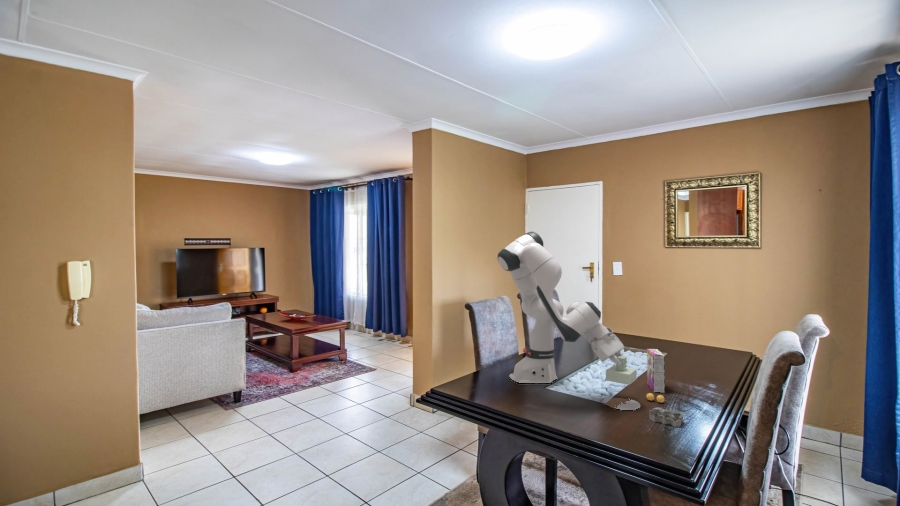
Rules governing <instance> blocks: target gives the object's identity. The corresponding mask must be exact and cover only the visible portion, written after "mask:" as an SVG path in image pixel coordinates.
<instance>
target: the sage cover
mask: <svg viewBox="0 0 900 506" xmlns="http://www.w3.org/2000/svg"><path fill="white" fill-rule="evenodd" d="M616 358H617V359H618V360H620V361H621V362H622V363H623V364H622V365H621V366H617V365H616V364H615V365H612V366H610V367H609V368H607V369H606V370H605V381H607V382H612V383H617V384H622V385H628V386H630V385H631V384H632V383H634V382H635V381H637V369H636V368H630V367H627V356H623V357H622V356H618V357H616Z"/></svg>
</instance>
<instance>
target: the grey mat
mask: <svg viewBox="0 0 900 506" xmlns="http://www.w3.org/2000/svg"><path fill="white" fill-rule="evenodd" d="M612 397H613V396H611V397H610V396H609V397H605V398H604V399H603V400H602V404H603V403H606V402H608V401H609V400H610V399H611V398H612ZM628 399H629V400H630V399H631V398H628ZM625 403H626V404H623V403H622V402H621V405H620V404H619V405H618V406H617V408H616V407H614V408H616V409H620V410H619V411H622V410H633V411H637V410H636V409H638V408H639V409H640V408H641V404H640V403H639V402H638V401H636V400H634V399H631V400H630V401H626V402H625ZM615 406H616V405H615ZM616 409H615V410H616ZM639 409H638V410H639Z"/></svg>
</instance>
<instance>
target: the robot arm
mask: <svg viewBox="0 0 900 506" xmlns="http://www.w3.org/2000/svg"><path fill="white" fill-rule="evenodd" d="M497 261H498V264H499V265H500V267H501V268H502V269H503V270H504V271H507V272H509V273H510V276H511V278H512V280H513V283H515V285H516V288H517V289H518V291H519V294H520V298H521V305H520V307H521V310H522V312H523V313H524V314H525V315H527V316H528V317H530V318H533V319H535V323H534V326H533V328H532V329H531V330H530V332H529V348H528V349H527V348H525V347H524V348H523V349H522V352H523V353H524V354H525V355H526V356H525V357H523V358H521V360H520V361H518V362H517V363H516V364H515V366H514V369H513V373H510V374H509V377H510V378H511V379H512V380H514V381H516V382H519V383H551V382H552V381H553V380H555V379H557V380H558V376H557V371H556V365H555V360H556V359H555V358H556V353H555V350H556V349H555V346H554V344H555V343H554V342H555V337H554V336H555V330H556V331H557V334H558V335H559V337H560V338H561V339H562V340H563V341H564V342H567V343H575V342H577V341H578V339H580V338H581V337H582V335H583V337H584V338H585V339H586V341H587V342H588V343H589V344H590V345H591V350H592V351H593V352H594V354H595V355H596V356H597V357H598V358H599V360H600V361H602V362H605V361H607V360H608V359H609V360H610V361H611V362H612V363H614V364H615V366H616V365H617V366H621V365H622V364H623V363H622V362H621V361H620V360H618V359H617V358H616V357H618V356H622V357H624V356H623V353H622V351H623V350H624V349H625V345H624V344H623V342H622V341H621V340H620V338H619V337H618V336H617V335H616V334H614V330H613V329H611V327H607V326H605V325H603V324H602V323H601V322H600V321H601V317H602V312H601V311H600V309H599V308H598V307H597V306H596V305H595V304H594V303H593V302H592V301H584V302H581V301H575V302H572V303H571V304H570V305H569V306H568V307H567V308H566V311H565V312H566V314H565V316H563V315H564V306H563V304H562V303H561V302H560V301H558V300H557V299H554V298H553V293H554V291H555V289H556V287H557V285H558V284H559V282H560V280H561V278H562V273H563V270H562V267H561V265H560V263H559V262H558V261H557V259H556V258H555V257H554V256H553V255H552V254H551V253H550V251H548V250H547V249H546V247H544V241H543V239H542V237H541V236H540V234H538V233H537V232H535V231H528V232H526V233H524V235H521V236H519V237H517V238H516V239H514V240H513V241H512V242H511V243H509V244H508V245H507V246H505V247H504V248H502V249H501V250H500V251H499V252H498V253H497ZM510 378H509V379H510ZM512 380H511V381H512ZM552 383H553V382H552Z"/></svg>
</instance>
